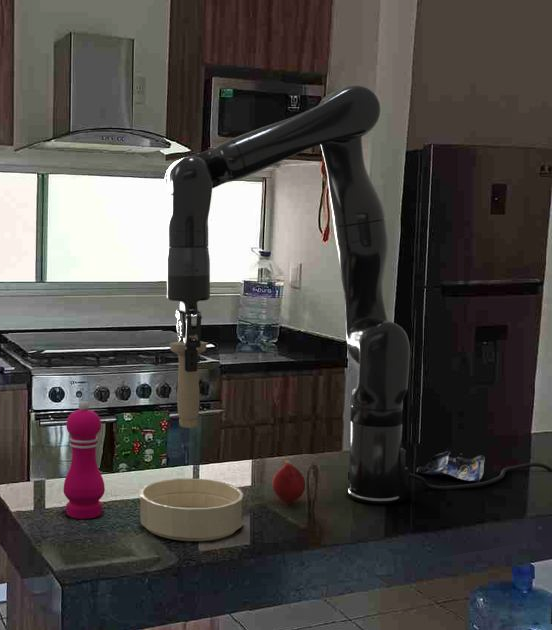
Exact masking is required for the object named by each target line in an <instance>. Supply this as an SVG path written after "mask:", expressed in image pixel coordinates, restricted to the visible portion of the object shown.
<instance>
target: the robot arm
mask: <svg viewBox="0 0 552 630" xmlns="http://www.w3.org/2000/svg"><path fill="white" fill-rule="evenodd" d="M380 116H381V103H380V100H379V98H378V96H377V95H376V93H375V92H374V91H373V90H371V89H370V88H369V87H367V86H363V85H358V84H352V85H351V84H350V85H346V86H343V87H341V88H338V89H337V90H335V91H333V92H330V93H328V94H327V95H325V96H324V97H323V98H322V99H321V100H320V102H319V103H318V105H316V106H314V107H312V108H309V109H308V110H305V111H304V112H301V113H299V114H296V115H294V116H291V117H288V118H286V119H283V120H280V121H278V122H277V121H276V122H274V123H271V124H268V125H265V126H262V127H259V128H257V129H254V130H251V131H248V132H245V133H243V134H240V135H238V136H235V137H233V138H230V139H228V140H225V141H223V142H222V143H220V144H218V145H217V146H215V147H213V148H210V149H208V150H205V151H202V152H200V153H197V154H193V155H191V156H186V157H183V158H181V159H179V160H176V161H174V162H173V163H172V164H171V165H170V166H169V167H168V169H167V170H166V173H165V175H164V185H165V188H166V191H167V192H168V193H169V195H171V196H172V213H171V216H170V217H169V220H168V225H167V227H168V228H167V231H168V232H167V247H168V248H167V256H166V298H167V300H168V301H171V302H179V308H176V311H175V318H176V333H177V336H176V339H177V342H183V341H184V345H183V348H184V369H185V371H187V372H196V371H197V370H198V371H199V355H198V350H199V347H200V345H201V342H202V340H201V339H202V336H201V335H202V318H203V316H202V312H201V310H199V308H198V303H199V302H200V301H201V302H202V301H203V302H204V301H208V300H210V298H211V259H210V251H209V250H210V249H209V216H210V215H209V214H210V210H211V202H212V194H213V189H215V188H217V187H219V186H221V185H224V184H226V183H230V182H235V181H239V180H242V179H243V178H246V177H249V176H251V175H254V174H256V173H258V172H261V171H263V170H266V169H268V168H270V167H272V166H275V165H276V164H279V163H281V162H283V161H285V160H287V159H289V158H291V157H293V156H295V155H298V154H301V153H302V152H305V151H307V150H310V149H312V148H316V147H318V146H320V148H321V151H322V156H323V160H324V163H325V164H324V165H325V170H326V175H327V184H328V193H329V200H330V201H329V202H330V209H331V215H332V225H333V232H334V241H335V247H336V252H337V257H338V264H339V272H340V279H341V283H342V290H343V296H344V310H345V311H344V312H345V341H346V347H347V348H346V349H347V351H348V353H349V355H350V357H351V358H352V359H353V361H354V362H355V363H357V364H359V365H358V366H359V367H358V381H357V385H356V387H354V388H353V389H352V390H351V393H350V422H349V423H350V425H349V426H350V427H349V432H350V433H349V467H348V468H349V469H348V472H347V481H348V489H347V490H348V491H347V493H348V497H349V498H351V499H353V500H354V501H357V502H361V503H365V504H371V505H372V504H373V505H390V504H395V503H398V502H405V499H406V498H405V495H406V493H405V491H406V487H407V486H409V482H410V481H409V479H410V478H411V479H415V480H418V481H419V482H421V483H422V484H423V486H424V487H425V488H427V489H431V490H448V491H449V490H450V491H452V490H453V491H454V490H464V489H471V488H480V487H484V486H489V485H492V484H495V483H497V482H499V481H501V480H503V479H504V477H505V475H506V473H507V472H510V471H515V470H519V469H525V468H532V467H538V468H543V469H544V470H547V471H548V473H549V472H550V473H552V467H551V466H549V465H548V464H544V463H541V462H528V463H522V464H518V465H512V466H508V467H504V468H502V470H500V474H499V475H498V476H496V477H493V478H492V479H487V480H485V481H479V483H478V482H474V483H473V482H472V483H466V484H465V483H464V484H457V485H446V486H445V485H434V484H431V483H428V482H427V480H426V479H425V478H424V477H423V476H420V475H419V474H415V473H410V469H409V468H408V467H407V466H406V461H407V457H406V456H407V451H406V449H404V448H403V447H402V446H403V415H404V414H403V411H404V398H405V396H406V394H407V392H408V388H409V387H408V386H409V373H410V359H411V358H410V357H411V347H410V341H409V337H408V334H407V332H406V331H405V329H403V327H402V326H400V325H399V324H398V323H396V322H392V321H389V320H388V317H387V313H386V307H385V300H384V292H383V291H384V290H383V289H384V288H383V287H384V286H383V285H384V277H385V272H386V267H387V261H388V257H389V256H388V255H389V237H388V229H387V220H386V213H385V210H384V206H383V202H382V201H381V198H380V196H379V194H378V192H377V190H376V187H375V186H374V184H373V182H372V180H371V178H370V176H369V173H368V171H367V168H366V164H365V158H364V150H363V139H362V137H364V136H366V135H367V134H368V133H369V132H371V131H372V130H373V128H375V126H376V125H377V123H378V121H379V118H380ZM200 341H201V342H200ZM550 606H551V607H550V608H551V610H550V624H552V605H550Z"/></svg>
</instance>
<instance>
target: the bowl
mask: <svg viewBox="0 0 552 630" xmlns="http://www.w3.org/2000/svg"><path fill="white" fill-rule="evenodd" d="M244 497H245V495H244V492H243V491H242V489H240V488H239V487H237V486H235V485H234V484H230V483H228V482H227V483H226V482H224V481H219V480H215V479H214V480H213V479H207V478H194V477H193V478H188V477H187V478H172V479H165V480H164V479H163V480H159V481H154V482H151V483H148V484H146V485H145V486H143V487H142V488H141V489H140V490H139V520H140V521H139V522H140V524H141V526H143V527H144V528H145V529H146V530H148V531H149V532H150V533H151V534H154V535H156V536H158V537H161V538H163V539H164V538H165V539H168V540H174V541H184V542H206V541H214V540H219V539H223V538H226V537H229V536H231V535H233V534H235V533H236V532H237V531H238V530H239V529H240V528H242V526H243V524H244V508H245V507H244V504H245V503H244V499H245V498H244Z"/></svg>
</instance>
